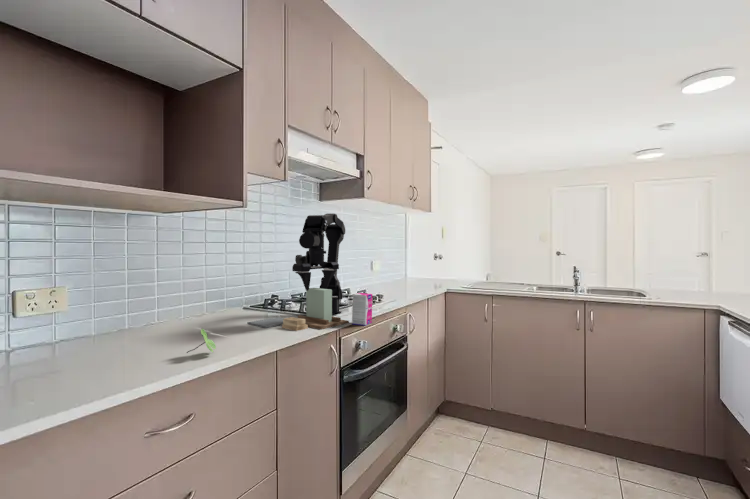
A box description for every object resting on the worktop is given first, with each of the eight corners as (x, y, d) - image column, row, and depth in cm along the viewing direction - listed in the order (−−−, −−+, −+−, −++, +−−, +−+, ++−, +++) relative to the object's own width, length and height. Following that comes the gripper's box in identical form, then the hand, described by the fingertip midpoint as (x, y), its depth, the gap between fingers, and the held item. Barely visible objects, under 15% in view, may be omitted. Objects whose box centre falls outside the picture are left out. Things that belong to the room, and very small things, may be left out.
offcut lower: (293, 327, 141) (293, 321, 141) (307, 330, 136) (307, 324, 136) (282, 329, 138) (282, 324, 138) (296, 332, 132) (296, 327, 132)
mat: (278, 318, 155) (278, 317, 155) (297, 322, 148) (297, 320, 148) (247, 323, 145) (247, 322, 145) (265, 328, 137) (265, 326, 137)
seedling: (199, 368, 106) (220, 354, 107) (184, 360, 99) (207, 345, 101) (190, 347, 109) (211, 334, 111) (175, 338, 102) (198, 324, 104)
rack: (317, 317, 157) (317, 311, 157) (348, 323, 145) (348, 316, 145) (289, 323, 146) (289, 316, 146) (321, 329, 134) (321, 322, 134)
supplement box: (365, 326, 140) (365, 295, 140) (351, 325, 142) (351, 294, 142) (372, 323, 145) (372, 293, 145) (358, 322, 147) (358, 292, 147)
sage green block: (314, 318, 150) (314, 287, 150) (331, 321, 144) (331, 289, 144) (306, 319, 147) (306, 288, 147) (324, 323, 141) (323, 290, 141)
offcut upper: (291, 322, 140) (291, 317, 140) (305, 324, 136) (305, 319, 136) (283, 324, 137) (283, 318, 137) (297, 326, 133) (297, 320, 133)
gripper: (320, 247, 158) (320, 285, 158) (283, 248, 143) (283, 290, 144) (339, 248, 151) (339, 287, 151) (302, 248, 136) (302, 292, 136)
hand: (316, 289), depth 146 cm, fingers open, 9 cm apart
